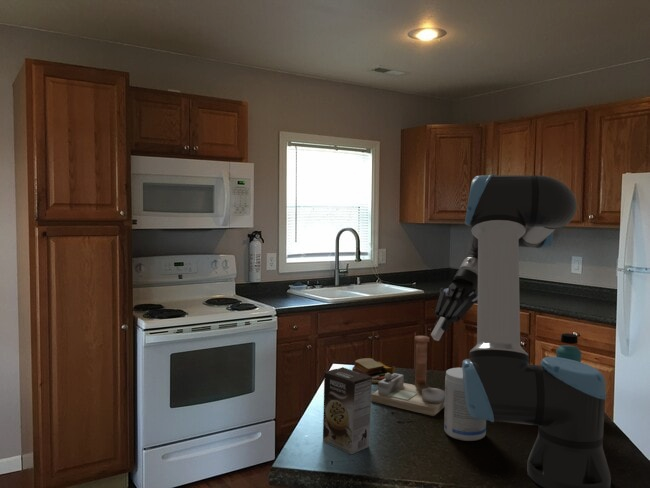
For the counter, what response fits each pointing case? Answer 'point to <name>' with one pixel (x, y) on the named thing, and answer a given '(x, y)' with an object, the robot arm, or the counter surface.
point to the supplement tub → (460, 410)
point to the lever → (420, 374)
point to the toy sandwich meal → (372, 369)
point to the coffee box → (347, 409)
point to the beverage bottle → (569, 348)
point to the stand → (403, 395)
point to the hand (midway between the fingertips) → (434, 337)
